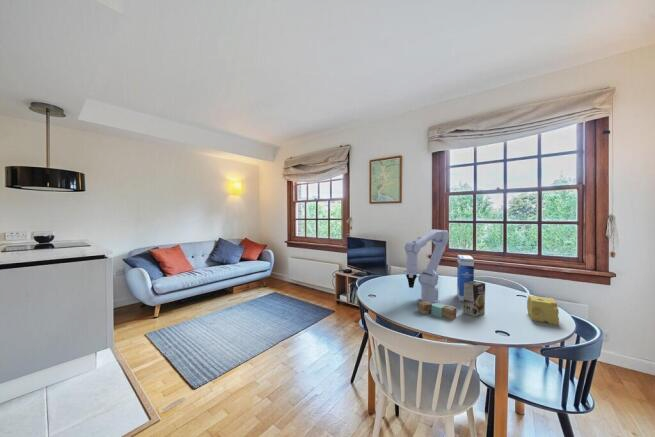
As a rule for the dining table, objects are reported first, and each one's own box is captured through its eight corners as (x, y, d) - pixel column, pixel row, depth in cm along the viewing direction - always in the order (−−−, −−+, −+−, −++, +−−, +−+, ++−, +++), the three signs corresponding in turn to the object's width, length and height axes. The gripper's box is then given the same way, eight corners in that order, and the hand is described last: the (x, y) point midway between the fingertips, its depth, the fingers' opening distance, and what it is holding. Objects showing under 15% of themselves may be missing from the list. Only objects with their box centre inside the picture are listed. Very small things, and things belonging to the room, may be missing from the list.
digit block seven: (446, 314, 128) (446, 304, 128) (456, 317, 125) (456, 307, 124) (442, 317, 125) (442, 307, 125) (452, 320, 121) (452, 309, 121)
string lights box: (473, 303, 144) (474, 259, 143) (458, 301, 146) (459, 258, 145) (469, 295, 156) (470, 255, 155) (456, 294, 159) (457, 254, 158)
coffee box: (474, 317, 125) (475, 285, 124) (462, 312, 130) (463, 282, 130) (485, 313, 129) (486, 283, 128) (473, 309, 135) (473, 280, 134)
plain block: (435, 312, 131) (435, 302, 131) (445, 314, 127) (445, 305, 127) (431, 314, 128) (431, 305, 127) (441, 317, 124) (441, 308, 124)
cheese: (559, 325, 116) (559, 304, 115) (529, 320, 121) (530, 300, 121) (553, 317, 124) (554, 298, 124) (526, 312, 130) (527, 294, 130)
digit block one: (426, 310, 134) (426, 300, 133) (432, 313, 129) (432, 304, 129) (417, 310, 132) (418, 301, 132) (423, 314, 128) (423, 304, 127)
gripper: (405, 260, 147) (404, 283, 147) (403, 265, 134) (402, 290, 134) (418, 261, 144) (417, 284, 145) (417, 266, 131) (416, 291, 131)
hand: (411, 287), depth 139 cm, fingers closed
